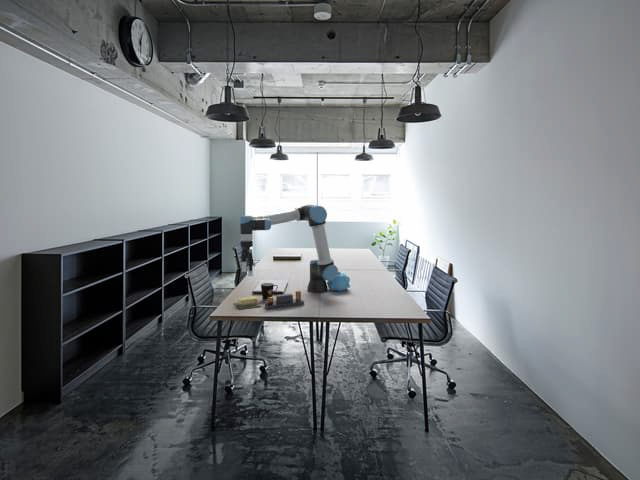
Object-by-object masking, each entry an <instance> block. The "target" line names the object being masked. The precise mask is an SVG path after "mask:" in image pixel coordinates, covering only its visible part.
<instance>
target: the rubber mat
mask: <svg viewBox="0 0 640 480" xmlns="http://www.w3.org/2000/svg"><path fill="white" fill-rule="evenodd" d="M233 305H235V307H236V308H237V309H238V310H239V311H240V310H241V311H242V310H246V309H255V308H262V305H261V304H260V303H259V302H257V305H250V306H242V307H240V306H239V305H238V301H237V302H233Z"/></svg>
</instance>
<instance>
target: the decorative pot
mask: <svg viewBox="0 0 640 480" xmlns="http://www.w3.org/2000/svg"><path fill="white" fill-rule="evenodd" d="M350 282H351V278H350V277H349V276H348V275H347V274H346V273H344V272H343V273H342V271H338V275H337V277H336V278H335V279H334V280H332V281H326V284H327V287H328V289H329V290H330V291H338V292H342V291H345V290H348V289H349V288H351V285H350Z"/></svg>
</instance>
